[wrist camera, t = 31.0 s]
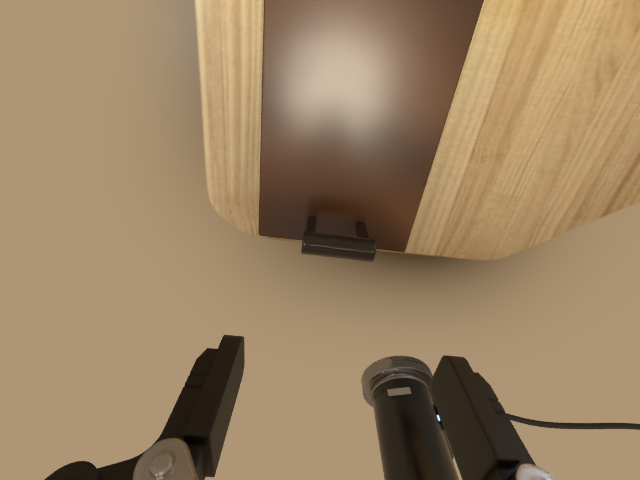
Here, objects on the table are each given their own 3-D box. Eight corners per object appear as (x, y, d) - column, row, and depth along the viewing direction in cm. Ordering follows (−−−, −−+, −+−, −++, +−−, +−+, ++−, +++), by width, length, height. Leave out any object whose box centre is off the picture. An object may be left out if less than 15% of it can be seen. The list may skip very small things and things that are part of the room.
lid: (402, 247, 25) (420, 285, 20) (260, 231, 24) (244, 266, 20) (486, -26, 16) (554, -72, 12) (268, -62, 16) (243, -127, 11)
